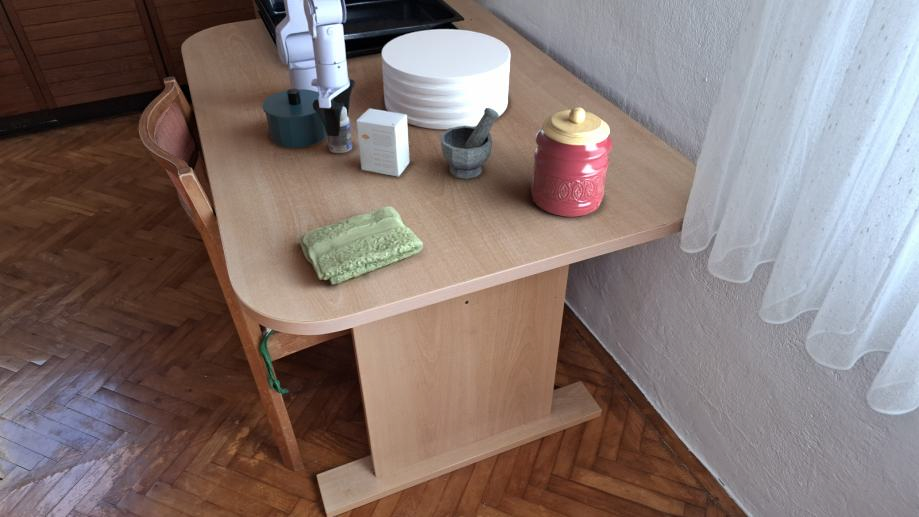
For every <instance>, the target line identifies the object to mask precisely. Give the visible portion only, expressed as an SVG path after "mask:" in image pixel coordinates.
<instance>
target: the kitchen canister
mask: <svg viewBox="0 0 919 517" xmlns="http://www.w3.org/2000/svg"><path fill="white" fill-rule="evenodd" d="M610 132H611V131H610V126H609V124H607V122H606V121H605V120H603V119H601V118H600V117H599V116H598V115H596V114H594V113H592V112H590V111H586V110H584V109H583V108H582V107H580V106H575V107H573V108H572V109H565V110H560V111H557V112H556V113H553V114H551V115H549V116H547V117H546V118H544V119H543V121H542V123H541V128H540V129H539V130H538V131H537V133H536V134H535V143H536V146H537V148H535V150H534V152H533V158H534V162H533V172H532V173H533V175H532V180H531V184H530V192H531V199H532V201H533V202H534V204H535V205H536V206H537V207H539V208H540V209H541V210H543V211H544V212H547V213H549V214H551V215H552V214H553V215H556V216H559V217H569V218H571V217H574V218H575V217H582V216H586V215H589V214H591V213H593V212H595V211H596V210H597V209H599V207H600V206H601V203H602V201H603V199H604V194H605V184H606V178H607V172H608V167H609V166H610V157H609V155H608V154H609V153H610V151H611V150H612V148H613V140H612V137H611V136H610Z"/></svg>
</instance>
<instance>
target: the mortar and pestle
mask: <svg viewBox="0 0 919 517" xmlns="http://www.w3.org/2000/svg"><path fill="white" fill-rule="evenodd" d="M499 117H500V116H499V114H498V113H497V112H496V111H495V110H493V109H491V108H486V109H485V110H484V115H483V116H482V118H481V120H480V121H479V123H478V124H477V126H474V127H471V126H459V127H454V128H449V129H445V131H444V132H442V133H441V134H440V147H441V149H440V150H441V154H442V157H443V159H444V160H445V162H446V163H447V164H449V173H450V174H451V175H453V176H454V177H456V178H460V179H471V178H472V179H473V178H477V177H478V176H479V175H480V174H481V173H482V165H483V164H484V163H486V162H487V160H488V159H489V158H490V156H491V153H492V149H493V139H492V138H493V137H492V134H491V132H490V131H491V129H492V127H493V125H494V123H495V121H496V120H497V119H499Z"/></svg>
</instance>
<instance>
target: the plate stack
mask: <svg viewBox="0 0 919 517" xmlns="http://www.w3.org/2000/svg"><path fill="white" fill-rule="evenodd" d="M511 56H512V55H511V49H510V48H509V46H507V45H506V43H505V42H503V41H501V40H500V39H499V38H496V37H494V36H491V35H489V34H485V33H482V32H478V31H473V30H465V29H456V28H455V29H454V28H451V29H450V28H437V29H425V30H418V31H414V32H410V33H409V32H408V33H405V34H403V35H399V36H397V37H395V38H392V39H391V40H390V41H388V42H387V43H386V44H384V45H383V48H382V49H381V62H382V64H381V68H382V70H381V71H382V82H383V98H384V100H383V101H384V107H385V109H386V111H388V112H395V113H401V114H406V115H407V125H412V126H416V127H420V128H425V129H431V130H448V129H449V128H454V127H459V126H471V127H476V126H477V124H478V123H479V121H480V120H481V118H482V116H483V115H484V110H485V109H486V108H491V109H493V110H495V111H496V112H497V113H498V114H499V117H500V116H501V115H503V114H504V112H505V111H506V109H507V108H508V105H509V104H508V103H509V84H510V71H511V70H510V69H511V63H510V62H511Z"/></svg>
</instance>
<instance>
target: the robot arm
mask: <svg viewBox="0 0 919 517" xmlns="http://www.w3.org/2000/svg"><path fill="white" fill-rule="evenodd" d="M283 4H284V5H283V6H284V10H285V17H284V18H283V19H282V20H281V21H280V22H279V23H278V24H277V25H276V26H275V29H274V31H275V42H276V44H275V45H276V50H277V54H278V57H279V60H280V62H281V63H282V64H283V65H285V66H287V70H288V78H289V84H290V89H304V90H312V91H316V92H319V97H318V100H314V102H313V109H314V110H315V111H316V112H317V114H318V115H319V116H320V118H321V120H322V122H323V125H324V127H325V130H326V132H327V134H328V136H339V132H340V117H341V111H342V108H343V106H344V107H345V108H346V109H347V117H348V118H349V112H350V104H351V103H350V101H351V97H352V96H351V95H352V92H353V88H354V86H355V83H356V81H355V80H354V79H352V78H351V79H350V78H349V74H348V64H347V54H346V43H345V34H344V24H345V23H346V22H347V8H346V3H345V0H283Z"/></svg>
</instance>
